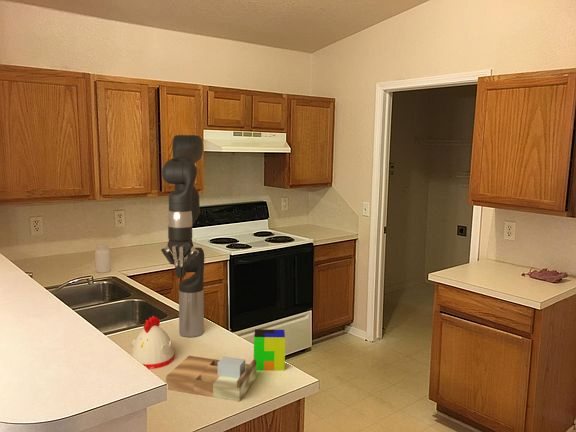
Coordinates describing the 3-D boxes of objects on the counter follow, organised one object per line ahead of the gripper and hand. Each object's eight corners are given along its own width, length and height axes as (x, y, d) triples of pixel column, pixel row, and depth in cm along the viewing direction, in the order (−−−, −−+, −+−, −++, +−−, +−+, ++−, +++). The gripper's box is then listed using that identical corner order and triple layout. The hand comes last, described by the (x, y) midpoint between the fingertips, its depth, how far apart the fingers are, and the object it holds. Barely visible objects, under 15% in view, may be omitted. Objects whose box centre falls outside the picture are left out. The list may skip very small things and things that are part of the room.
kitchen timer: (122, 364, 157) (120, 320, 155) (147, 348, 170) (147, 307, 168) (158, 372, 153) (157, 327, 151) (181, 355, 166) (181, 313, 163)
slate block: (223, 368, 147) (223, 356, 147) (244, 371, 146) (245, 359, 145) (217, 375, 143) (217, 362, 143) (239, 378, 141) (239, 365, 141)
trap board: (188, 367, 157) (188, 349, 156) (256, 377, 151) (256, 359, 150) (166, 389, 142) (165, 370, 141) (239, 401, 136) (239, 381, 136)
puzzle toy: (283, 357, 166) (284, 329, 164) (284, 370, 156) (285, 341, 154) (254, 357, 165) (255, 329, 164) (253, 370, 156) (253, 341, 154)
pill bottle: (92, 272, 266) (91, 246, 264) (100, 269, 274) (99, 243, 272) (105, 273, 265) (105, 246, 263) (113, 269, 273) (112, 243, 271)
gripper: (204, 224, 155) (204, 276, 158) (167, 221, 158) (167, 272, 161) (194, 227, 148) (194, 282, 151) (155, 225, 151) (156, 278, 154)
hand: (180, 277), depth 156 cm, fingers closed
